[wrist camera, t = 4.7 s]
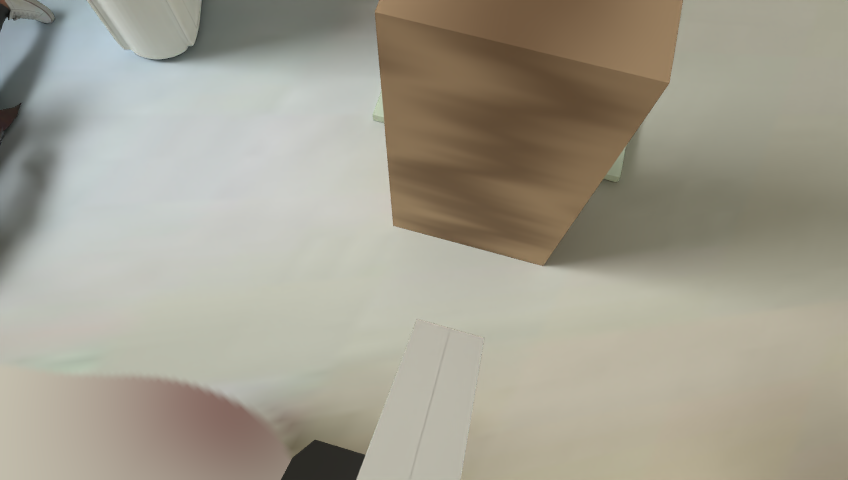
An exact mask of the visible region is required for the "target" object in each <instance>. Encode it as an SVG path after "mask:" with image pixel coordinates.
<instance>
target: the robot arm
mask: <svg viewBox="0 0 848 480" xmlns="http://www.w3.org/2000/svg"><path fill="white" fill-rule="evenodd" d="M483 344H484V338H483V337H480V336H476V335H473V334H469V333H466V332H462V331H459V330H455V329H452V328H448V327H445V326H441V325H437V324H434V323H430V322H427V321H423V320H420V319H416V322H415V325H414V327H413V330H412V333H411V335H410V338H409V341H408V343H407V346H406V349H405V351H404V354H403V357H402V359H401V362H400V365H399V367H398V370H397V373H396V375H395V378H394V381H393V383H392V386H391V389H390V391H389V394H388V397H387V399H386V402H385V405H384V407H383V410H382V413H381V415H380V418H379V421H378V423H377V426H376V429H375V431H374V434H373V437H372V439H371V442H370V445H369V447H368V450H367V453H366V455H364V454H361V453H357V452H354V451H351V450H347V449H344V448H341V447H338V446H334V445H331V444H328V443H324V442H321V441H318V440H314V441H313V442H312V443H310V444H309V445H308V446H307V447H305V448H304V449H303V450H302V451H300V452H299V453H298V454H297V455H295V456H294V457H293V458H292V460H291V462H290V464H289V465H288V467H287V469H286V471H285V473H284V475H283V477H282V479H281V480H461V475H462V469H463V463H464V457H465V451H466V445H467V439H468V433H469V427H470V421H471V415H472V409H473V403H474V397H475V391H476V385H477V379H478V373H479V368H480V362H481V356H482V350H483Z"/></svg>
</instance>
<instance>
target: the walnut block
mask: <svg viewBox="0 0 848 480" xmlns="http://www.w3.org/2000/svg"><path fill="white" fill-rule="evenodd" d="M682 3H683V0H379V2H378V5H377V8H376V10H375V20H376V32H377V43H378V55H379V66H380V78H381V89H382V101H383V113H384V124H385V136H386V147H387V159H388V170H389V182H390V193H391V205H392V216H393V226H397V227H400V228H404V229H408V230H411V231H415V232H419V233H423V234H426V235H430V236H434V237H437V238H441V239H445V240H449V241H452V242H456V243H460V244H464V245H467V246H471V247H475V248H478V249H482V250H486V251H490V252H493V253H497V254H501V255H504V256H508V257H512V258H516V259H519V260H523V261H527V262H530V263H534V264H538V265H542V266H543V265H544V264H545V263H546V261H547V260H548V258H549V257H550V255H551V254H552V252H553V251H554V249H555V248H556V247H557V245H558V244H559V242H560V241H561V239H562V238H563V236H564V235H565V234H566V232H567V231H568V229H569V228H570V226H571V225H572V223H573V222H574V221H575V219H576V218H577V216H578V215H579V213H580V212H581V210H582V209H583V207H584V206H585V205H586V203H587V202H588V200H589V199H590V197H591V196H592V194H593V193H594V192H595V190H596V189H597V187H598V186H599V184H600V183H601V181H602V180H603V179H604V177H605V176H606V174H607V173H608V171H609V170H610V168H611V167H612V165H613V164H614V163H615V161H616V160H617V158H618V157H619V155H620V154H621V152H622V151H623V150H624V148H625V147H626V145H627V144H628V142H629V141H630V139H631V138H632V136H633V135H634V134H635V132H636V131H637V129H638V128H639V126H640V125H641V123H642V122H643V121H644V119H645V118H646V116H647V115H648V113H649V112H650V110H651V109H652V108H653V106H654V105H655V103H656V102H657V100H658V99H659V97H660V96H661V94H662V93H663V92H664V90H665V89H666V87H667V86H668V84H669V82H670V76H671V70H672V64H673V58H674V52H675V46H676V40H677V34H678V27H679V21H680V15H681V9H682Z"/></svg>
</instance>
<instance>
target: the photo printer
mask: <svg viewBox="0 0 848 480" xmlns="http://www.w3.org/2000/svg"><path fill="white" fill-rule="evenodd" d="M87 1H88V3H89V4H90V5H91V7H92V8H93V10H94V11H95V13H96V14H97V15H98V17H99V18H100V20H101V21H102V22H103V24H104V25H105V26H106V28H107V29H108V31H109V32H110V33H111V35H112V36H113V38H114V39H115V40H116V41H117V43H118V44H119V45H120V46H121V47H122V48H123V49H125V50H132V51H133V52H134V53H135V54H137V55H139V56H141V57H144V58H148V59H166V58H171V57H174V56H177V55H179V54H181V53H183V52H185V51H186V50H187V48H188V46H193V45H194V43H195V41H196V37H197V33H198V29H199V23H200V14H201V3H202V0H87Z"/></svg>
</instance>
